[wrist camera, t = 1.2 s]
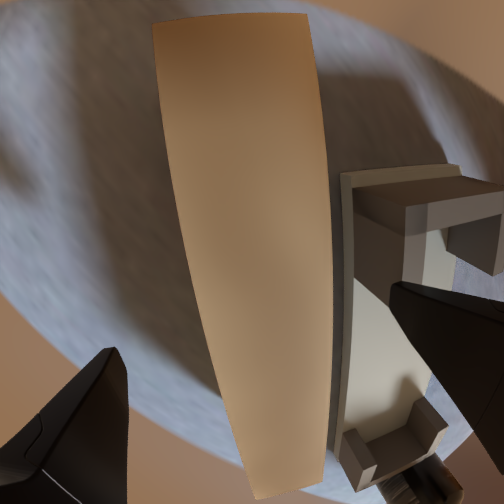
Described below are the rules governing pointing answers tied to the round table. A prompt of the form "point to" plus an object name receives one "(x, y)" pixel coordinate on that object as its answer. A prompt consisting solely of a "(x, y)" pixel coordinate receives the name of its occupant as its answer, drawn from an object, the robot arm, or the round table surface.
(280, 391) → the slat
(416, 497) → the supplement bottle
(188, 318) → the round table surface
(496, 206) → the slat rail
